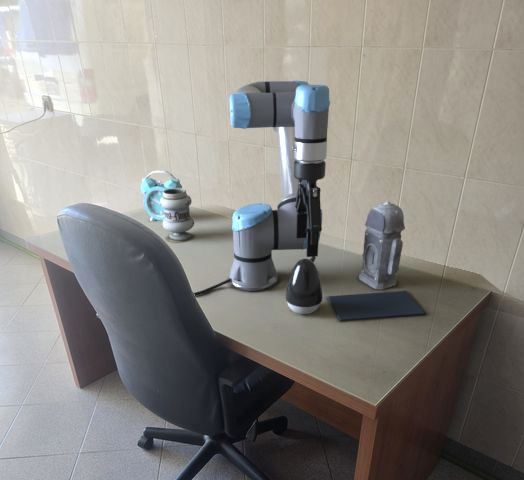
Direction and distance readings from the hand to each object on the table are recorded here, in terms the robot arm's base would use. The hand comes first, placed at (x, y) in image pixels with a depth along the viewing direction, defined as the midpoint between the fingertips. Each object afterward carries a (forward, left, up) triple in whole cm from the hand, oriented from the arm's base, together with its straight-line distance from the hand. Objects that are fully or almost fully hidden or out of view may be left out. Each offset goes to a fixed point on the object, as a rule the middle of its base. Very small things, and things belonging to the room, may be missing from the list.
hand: (306, 246), depth 122 cm
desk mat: (+21, -1, -19) cm, 28 cm away
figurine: (+27, +15, -19) cm, 36 cm away
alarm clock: (-43, +89, -19) cm, 101 cm away
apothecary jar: (-36, +65, -19) cm, 77 cm away
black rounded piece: (0, 0, -19) cm, 19 cm away
